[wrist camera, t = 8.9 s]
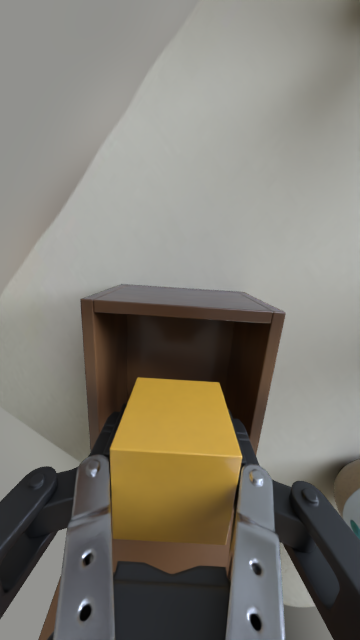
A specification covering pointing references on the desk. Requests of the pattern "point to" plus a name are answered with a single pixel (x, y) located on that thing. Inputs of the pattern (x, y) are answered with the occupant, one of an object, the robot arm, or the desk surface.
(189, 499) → the block
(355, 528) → the vase
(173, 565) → the lid
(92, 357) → the chest
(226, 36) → the desk surface
